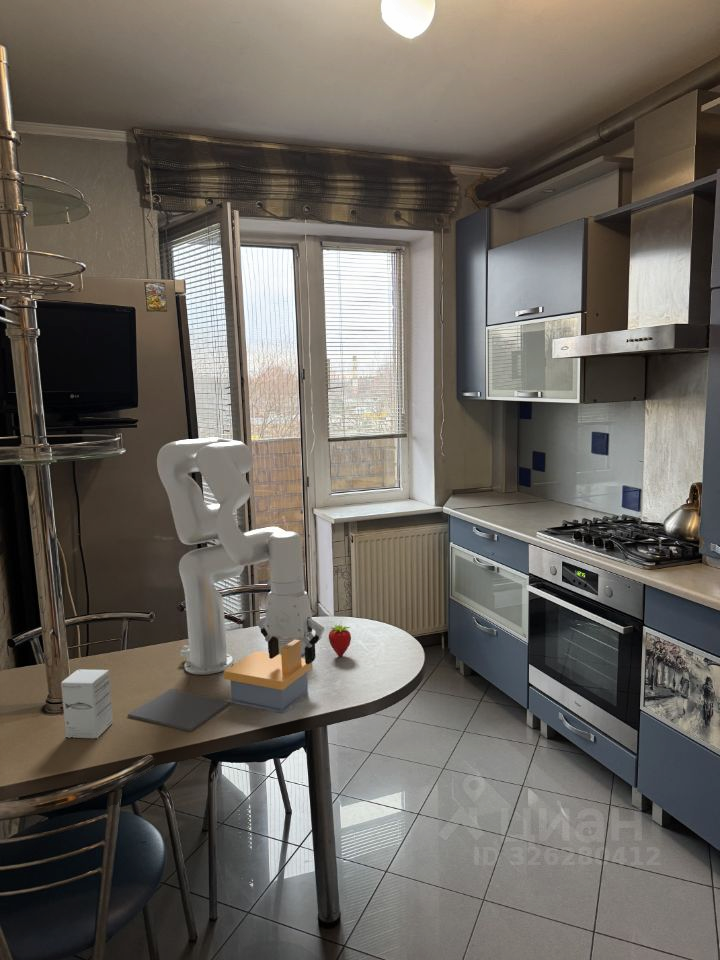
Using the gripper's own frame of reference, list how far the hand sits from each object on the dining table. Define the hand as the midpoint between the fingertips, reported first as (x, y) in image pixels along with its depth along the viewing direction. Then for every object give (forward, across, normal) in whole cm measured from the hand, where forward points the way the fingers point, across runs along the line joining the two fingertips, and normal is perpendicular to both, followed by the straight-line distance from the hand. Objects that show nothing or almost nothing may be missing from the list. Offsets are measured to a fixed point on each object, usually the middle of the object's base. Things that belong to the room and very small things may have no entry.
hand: (292, 659), depth 156 cm
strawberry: (+11, -3, +28) cm, 30 cm away
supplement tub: (+10, -15, +22) cm, 29 cm away
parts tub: (+10, -7, 0) cm, 12 cm away
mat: (+10, -23, -13) cm, 28 cm away
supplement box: (+10, -35, -28) cm, 46 cm away
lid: (+3, -7, 0) cm, 8 cm away
